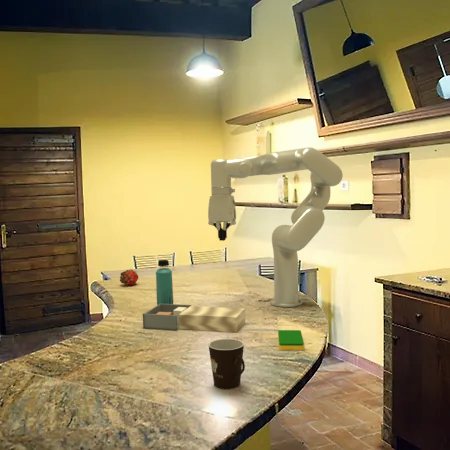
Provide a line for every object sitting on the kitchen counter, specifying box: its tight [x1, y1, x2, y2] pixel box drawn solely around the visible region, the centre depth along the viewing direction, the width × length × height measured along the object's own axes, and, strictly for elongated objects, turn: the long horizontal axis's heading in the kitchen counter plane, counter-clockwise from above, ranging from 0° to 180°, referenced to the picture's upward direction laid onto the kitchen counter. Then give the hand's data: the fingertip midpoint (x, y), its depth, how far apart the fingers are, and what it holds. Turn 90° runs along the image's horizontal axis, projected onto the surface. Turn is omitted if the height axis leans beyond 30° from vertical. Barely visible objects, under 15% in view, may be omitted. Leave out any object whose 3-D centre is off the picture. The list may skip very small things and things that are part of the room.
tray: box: [142, 303, 192, 331], centre depth 182 cm, size 12×15×5 cm
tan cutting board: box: [178, 305, 246, 333], centre depth 178 cm, size 20×12×5 cm, turn 74°
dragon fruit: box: [119, 268, 139, 287], centre depth 253 cm, size 8×8×12 cm
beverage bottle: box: [155, 259, 175, 306], centre depth 199 cm, size 6×7×20 cm
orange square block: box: [157, 312, 172, 315], centre depth 182 cm, size 5×5×3 cm
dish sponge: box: [277, 329, 305, 351], centre depth 158 cm, size 7×14×2 cm, turn 175°
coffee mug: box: [208, 338, 246, 390], centre depth 125 cm, size 12×9×10 cm
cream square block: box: [173, 307, 187, 325], centre depth 181 cm, size 5×5×3 cm
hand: (222, 240), depth 198 cm, fingers closed
